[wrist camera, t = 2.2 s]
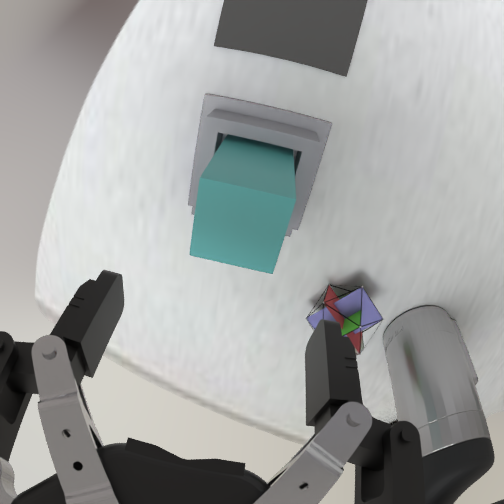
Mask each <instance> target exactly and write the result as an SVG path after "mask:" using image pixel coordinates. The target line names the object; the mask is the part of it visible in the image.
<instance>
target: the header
mask: <svg viewBox="0 0 504 504" xmlns="http://www.w3.org/2000/svg"><path fill="white" fill-rule="evenodd" d="M331 126H332V123H331V122H327V121H324V120H321V119H317V118H314V117H310V116H306V115H303V114H299V113H295V112H291V111H287V110H283V109H279V108H275V107H271V106H266V105H262V104H257V103H253V102H248V101H243V100H238V99H233V98H228V97H222V96H217V95H211V94H205V96H204V101H203V107H202V113H201V119H200V125H199V131H198V137H197V143H196V150H195V157H194V164H193V171H192V178H191V185H190V193H189V201H188V205H189V206H193V207H192V214H193V215H195V208H196V201H197V194H198V187H199V180H200V177H201V175H202V173H203V172H204V170H205V169H206V167H207V165H208V164H209V162H210V161H211V159H212V157H213V156H214V154H215V153H216V151H217V150H218V148H219V147H220V145H221V143H222V142H223V140H224V139H225V137H226V136H227V134H229V135H234V136H239V137H243V138H248V139H252V140H257V141H261V142H265V143H270V144H274V145H278V146H282V147H286V148H290V149H293V156H294V171H295V187H296V202H295V205H294V209H293V212H292V215H291V218H290V221H289V224H288V228H287V231H286V234H285V236H289V237H290V235H291V232H292V229H294V230H298V228H299V225H300V222H301V219H302V216H303V213H304V210H305V207H306V204H307V201H308V198H309V195H310V192H311V189H312V186H313V183H314V180H315V177H316V173H317V170H318V167H319V164H320V161H321V158H322V155H323V151H324V148H325V145H326V142H327V139H328V135H329V132H330V129H331Z"/></svg>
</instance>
